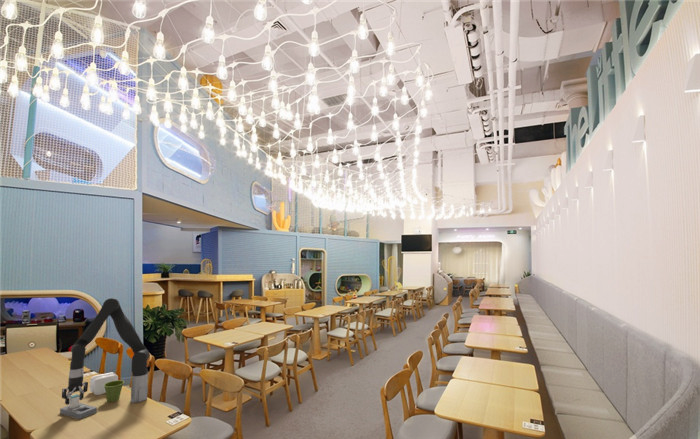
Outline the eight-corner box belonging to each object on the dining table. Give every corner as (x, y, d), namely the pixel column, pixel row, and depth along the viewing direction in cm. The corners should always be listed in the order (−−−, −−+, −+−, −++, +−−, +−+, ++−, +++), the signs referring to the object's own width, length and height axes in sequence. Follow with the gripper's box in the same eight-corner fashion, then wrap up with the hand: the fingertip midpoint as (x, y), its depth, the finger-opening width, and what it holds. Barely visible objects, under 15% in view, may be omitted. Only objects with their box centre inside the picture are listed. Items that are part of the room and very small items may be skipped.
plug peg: (78, 410, 221) (79, 395, 222) (71, 413, 217) (73, 397, 218) (74, 409, 222) (76, 394, 223) (68, 412, 219) (69, 396, 220)
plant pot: (101, 405, 229) (102, 387, 230) (104, 398, 239) (105, 382, 240) (122, 401, 234) (123, 384, 235) (124, 395, 245) (125, 379, 246)
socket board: (96, 412, 219) (97, 407, 219) (79, 419, 209) (79, 413, 210) (77, 407, 226) (77, 401, 227) (59, 413, 217) (60, 408, 217)
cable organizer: (92, 396, 243) (93, 379, 244) (89, 392, 250) (90, 376, 251) (117, 390, 253) (118, 374, 255) (113, 386, 261) (114, 371, 262)
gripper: (67, 380, 214) (64, 407, 212) (91, 372, 227) (90, 398, 225) (60, 378, 217) (57, 405, 215) (84, 371, 230) (82, 396, 228)
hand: (74, 402), depth 220 cm, fingers open, 7 cm apart
